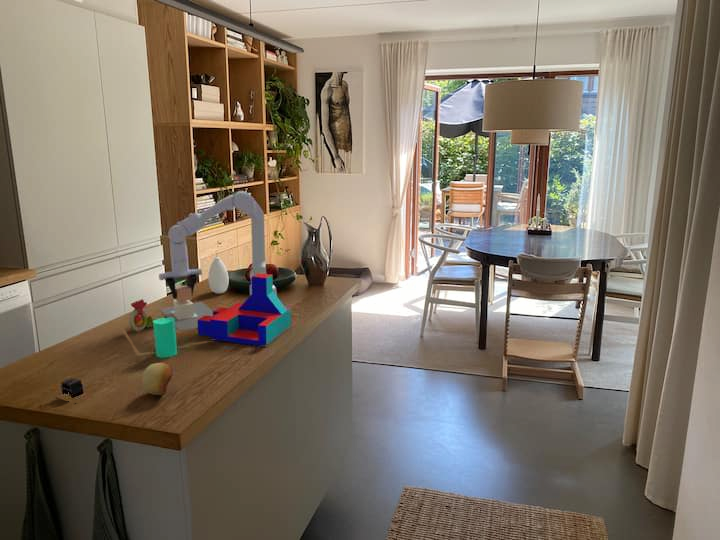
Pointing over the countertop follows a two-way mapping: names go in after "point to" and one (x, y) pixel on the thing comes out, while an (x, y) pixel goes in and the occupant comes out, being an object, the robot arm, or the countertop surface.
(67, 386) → the black block
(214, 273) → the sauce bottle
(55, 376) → the countertop surface
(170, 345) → the candle
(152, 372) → the fruit
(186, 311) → the cream brick
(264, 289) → the building blocks toy
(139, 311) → the bird rattle
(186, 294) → the terracotta brick
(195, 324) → the baseplate
